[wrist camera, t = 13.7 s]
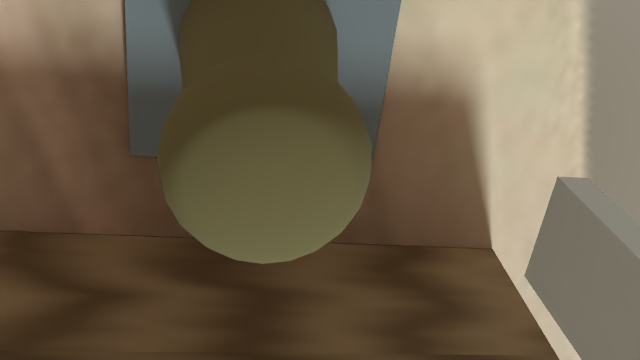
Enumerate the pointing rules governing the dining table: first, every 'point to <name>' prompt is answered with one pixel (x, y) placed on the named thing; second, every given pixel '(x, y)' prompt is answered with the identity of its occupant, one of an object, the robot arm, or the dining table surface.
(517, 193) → the dining table surface
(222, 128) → the cork
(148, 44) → the grey pad
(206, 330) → the walnut box
